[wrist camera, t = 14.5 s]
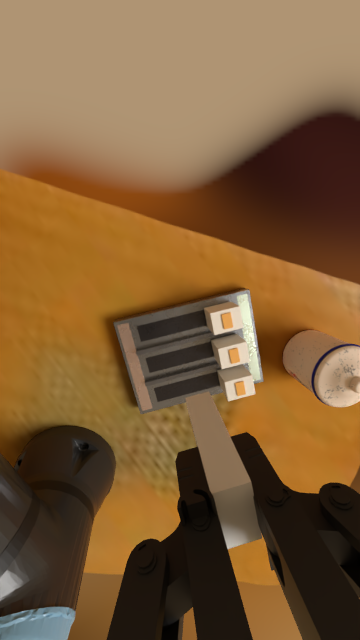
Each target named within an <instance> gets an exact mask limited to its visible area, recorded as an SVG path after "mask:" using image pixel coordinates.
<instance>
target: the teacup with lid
mask: <svg viewBox="0 0 360 640" xmlns="http://www.w3.org/2000/svg"><path fill="white" fill-rule="evenodd" d="M283 363H284V367H285V369H286V370H287V372H288V373H289V374H290V375H291V376H293V377H294V378H295V379H296V380H298V381H299V382H300V383H301V384H303V385H304V386H305V387H306V388H308V389H309V390H310V391H311V392H313V393H314V394H315V396H316V397H317V398H318V399H319V400H320V401H321V402H323V403H324V404H327V405H330V406H333V407H347V406H351V405H353V404H355V403H357V402H359V401H360V346H359V345H355V344H349V343H346V342H344V341H342V340H339V339H337V338H334V337H332V336H329V335H327V334H324V333H322V332H320V331H316V330H306V331H302V332H300V333H298V334H296V335H295V336H294V337H292V338H291V339H290V341H289V342H288V343H287V345H286V347H285V349H284V352H283Z"/></svg>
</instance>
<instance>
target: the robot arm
mask: <svg viewBox="0 0 360 640" xmlns="http://www.w3.org/2000/svg"><path fill="white" fill-rule="evenodd" d="M185 399H186V404H187V408H188V412H189V416H190V420H191V424H192V428H193V432H194V436H195V440H196V444H197V447H195V448H192V449H188V450H185V451H181V452H178V455H177V458H176V461H175V462H176V469H177V476H178V484H179V491H180V498H179V500H178V506H177V509H178V513H179V516H180V520H181V521H180V524H179V526H178V527H177V529H176V530H175V531H174V532H173V533H172V534H171V535H170V536H168V537H167V538H166V539H164V540H163V541H161V542H159V541H158V540H156V539H147V540H143V541H142V542H141V543H139V544H138V545H136V547H135V548H134V549H133V551H132V552H131V554H130V556H129V558H128V561H127V564H126V568H125V572H124V576H123V580H122V583H121V587H120V591H119V595H118V599H117V602H116V606H115V610H114V614H113V618H112V621H111V625H110V629H109V633H108V637H107V640H182V632H183V618H184V614H185V613H186V612H187V611H189V610H190V609H191V608H192V607H193V610H194V618H195V625H196V633H197V640H253V639H252V635H251V632H250V628H249V625H248V621H247V618H246V614H245V611H244V607H243V603H242V600H241V596H240V592H239V589H238V585H237V581H236V578H235V574H234V571H233V567H232V563H231V560H230V556H229V553H228V549H229V548H233V547H236V546H239V545H242V544H245V543H249V542H252V541H255V540H258V539H261V538H262V535H263V537H264V540H265V542H266V546H267V551H268V556H269V562H270V566H271V571H272V570H275V572H276V575H277V577H278V580H279V582H280V585H281V587H282V590H283V592H284V594H285V597H286V599H287V601H288V604H289V607H290V609H291V611H292V614H293V616H294V619H295V621H296V624H297V626H298V629H299V631H300V634H301V636H302V639H303V640H360V599H359V598H360V494H359V493H357V492H356V491H355V490H353V489H351V488H350V487H348V486H347V485H344V484H340V483H328V484H325V485H323V486H322V487H321V489H320V491H319V494H314V493H300V492H296V491H293V490H291V489H290V488H289V487H287V486H286V485H284V484H283V483H282V481H281V480H280V479H279V477H278V475H277V474H276V472H275V470H274V469H273V467H272V465H271V464H270V462H269V460H268V459H267V457H266V456H265V455H264V452H263V451H262V449H261V448H260V446H259V444H258V442H257V441H256V439H255V438H254V437H253V436H251V435H250V434H249V433H247V432H246V433H242V434H239V435H235V436H232V437H230V435H229V433H228V431H227V429H226V427H225V425H224V422H223V420H222V418H221V416H220V414H219V412H218V410H217V407H216V405H215V403H214V401H213V399H212V397H211V395H210V393H209V391H208V392H205V393H201V394H197V395H194V396H190V397H186V398H185ZM115 468H116V461H115V456H114V453H113V451H112V449H111V447H110V446H109V444H108V443H107V442H106V441H105V440H104V439H103V438H102V437H101V436H99V435H98V434H96V433H95V432H93V431H90V430H88V429H85V428H81V427H75V426H61V427H55V428H52V429H49V430H46V431H44V432H42V433H40V434H38V435H37V436H35V437H34V438H33V439H32V440H31V441H30V442H29V443H28V444H27V445H26V447H25V448H24V450H23V451H22V453H21V454H20V456H19V457H18V459H17V461H16V464H15V466H14V468H13V467H12V466H11V465H10V463H9V462H8V461H7V460H6V459H5V458H4V456H3V455H2V454H1V453H0V640H67V639H68V635H69V631H70V627H71V625H72V623H73V621H74V619H75V610H76V605H77V600H78V595H79V590H80V585H81V580H82V574H83V570H84V565H85V560H86V555H87V550H88V545H89V540H90V535H91V530H92V525H93V521H94V517H95V516H96V514H97V512H98V510H99V508H100V507H101V505H102V503H103V501H104V499H105V497H106V496H107V494H108V493H109V491H110V489H111V487H112V484H113V480H114V474H115ZM261 533H262V535H261Z"/></svg>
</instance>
